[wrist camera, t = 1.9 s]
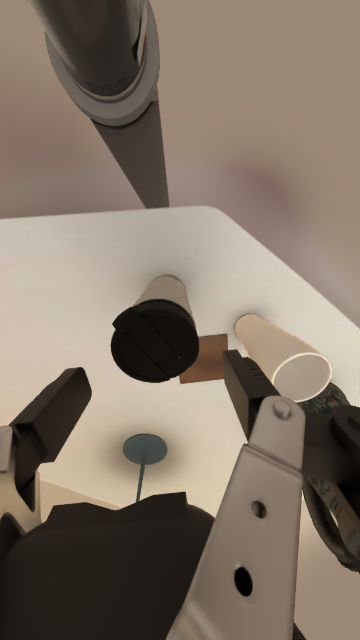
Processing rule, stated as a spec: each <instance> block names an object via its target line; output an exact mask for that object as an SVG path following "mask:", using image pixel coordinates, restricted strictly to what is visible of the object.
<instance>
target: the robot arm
mask: <svg viewBox="0 0 360 640" xmlns="http://www.w3.org/2000/svg"><path fill="white" fill-rule="evenodd" d="M28 2H29V4H30V6H31V7H32V9H33V11H34V13H35V14H36V16H37V18H38V20H39V21H40V23H41V25H42V26H43V28H44V30H45V32H46V34H47V35H48V37H49V39H50V41H51V42H52V44H53V46H54V47H55V49H56V51H57V53H58V54H59V56H60V59H61V61H62V63H63V65H64V67H65V68H66V70H67V72H68V73H69V75H70V77H71V78H72V80H73V81H74V83H75V84H76V85H77V86H78V87H79V89H80V90H81V91H83V92H84V93H85V94H86V95H87V96H89V97H90V98H92V99H94V100H96V101H99V102H102V103H116V102H120V101H122V100H124V99H126V98H127V97H128V96H130V95H131V94H132V93H133V92H134V90H135V89H136V88H137V86H138V84H139V83H140V80H141V78H142V76H143V73H144V69H145V64H146V57H147V40H146V25H147V19H148V18H147V9H146V0H145V7H144V13H143V15H142V10H141V2H140V0H28ZM223 375H224V381H225V385H226V387H227V390H228V393H229V395H230V398H231V400H232V403H233V405H234V408H235V410H236V413H237V415H238V418H239V421H240V423H241V426H242V428H243V431H244V433H245V436H246V438H247V441H248V443H247V444H243V446H242V448H241V450H240V453H239V455H238V458H237V461H236V464H235V466H234V469H233V472H232V475H231V477H230V480H229V483H228V485H227V488H226V491H225V494H224V496H223V499H222V502H221V504H220V507H219V510H218V513H217V515H216V518H214V517H213V516H212V515H210V514H209V513H207V512H206V511H204V510H203V509H200V508H198V507H196V506H193V505H190V504H188V503H187V497H186V492H178V493H168V494H159V495H152V496H150V497H147V498H145V499H143V500H141V501H138V502H136V503H134V504H131V505H129V506H127V507H124V508H122V509H120V510H111V509H108V508H104V507H101V506H97V505H94V504H90V503H87V502H83V503H74V504H64V505H56V506H53V508H52V510H51V512H50V514H49V516H48V518H47V520H46V522H44V523H42V521H41V511H40V510H41V509H40V508H41V507H40V474H39V472H38V470H37V469H38V467H39V465H40V464H41V463H49V462H54V461H55V459H56V457H57V456H58V454H59V452H60V451H61V449H62V447H63V445H64V444H65V442H66V440H67V439H68V437H69V435H70V433H71V432H72V430H73V428H74V427H75V425H76V423H77V422H78V420H79V418H80V416H81V415H82V413H83V411H84V410H85V408H86V406H87V405H88V403H89V401H90V399H91V395H92V390H91V387H90V384H89V381H88V378H87V376H86V373H85V370H84V369H83V368H82V367H77V368H69V369H66V370H65V371H64V372H63V373H62V374H61V375H60V376H59V377H58V378H57V379H56V380H55V381H53V382H52V383H50V384H49V385H47V386H46V387H45V388H44V389H43V390H42V392H41V393H40V395H38V396H37V397H36V398H35V399H34V400H33V401H32V402H31V403H30V404H29V405H28V406H27V407H26V408H25V409H24V410H23V411H22V412H21V413H20V414H19V415H18V416H17V417H16V418H15V419H14V420H13V421H12V422H11V423H10V424H9V425H8V426H1V427H0V640H306V638H305V637H304V636H303V634H302V633H301V631H300V630H299V629H298V627H297V626H296V625H295V623H294V607H295V592H296V577H297V560H298V545H299V531H300V515H301V500H302V484H303V476H307V477H311V478H315V479H319V480H323V481H326V482H327V483H328V485H329V487H330V488H331V490H332V492H333V493H334V495H335V496H336V498H337V500H338V501H339V503H340V505H341V506H342V508H343V509H344V511H345V513H346V514H347V516H348V518H349V519H350V521H351V522H352V524H353V526H354V527H355V529H356V530H357V532H358V534H359V535H360V408H359V407H356V406H352V405H338V406H335V407H334V408H333V409H332V413H331V415H328V414H322V413H315V412H309V411H305V410H303V409H302V408H301V407H300V406H299V405H298V404H297V403H296V402H294V401H292V400H291V399H288V398H286V397H282V396H281V395H280V393H279V392H278V391H277V389H276V388H275V387H274V385H273V384H272V383H271V381H270V380H269V379H268V377H267V376H266V375H265V374H264V372H263V371H262V370H261V368H260V367H259V366H258V364H257V363H256V362H255V361H253V360H252V359H250V358H248V357H244V358H242V356H241V355H240V353H239V352H238V350H237V349H235V350H226V351H223Z"/></svg>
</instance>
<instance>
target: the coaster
mask: <svg viewBox="0 0 360 640" xmlns="http://www.w3.org/2000/svg"><path fill="white" fill-rule="evenodd" d="M198 339H199V354H198V357H197V359H196V361H195V362H194V363H193V364H192V366H191V367H190V368H189V367H188V369H187V370H186V371H185V372H183V373H182V374H181V375H179V376H180V383H181V384H184V383H193V382H202V381H210V380H219V379H224V375H223V351H226V350H228V339H227V334H222V335H214V336H205V337H198Z"/></svg>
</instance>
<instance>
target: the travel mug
mask: <svg viewBox="0 0 360 640" xmlns="http://www.w3.org/2000/svg"><path fill="white" fill-rule="evenodd" d="M112 325H113V326H114V328H115V329H116V330H115V332H114V334H113V336H112V340H111V353H112V356H113V359H114V361H115V362H116V364H117V366H118V367H119V368H120V369H121V370H122V371H123V372H124V373H126V374H127V375H128V376H130V377H132V378H134V379H136V380H140V381H143V382H149V383H160V382H164V381H168V380H170V378H175V377H177V376H179V375H181V374H182V373H183V372H185V371H186V370H187V369H188V367H189V368H190V367H191V366H192V364H193V363H194V362H195V361H196V359H197V357H198V354H199V339H198V335H197V331H196V325H195V322H194V319H193V315H192V312H191V308H190V305H189V301H188V298H187V295H186V291H185V288H184V285H183V284H182V282H181V281H180V280H179V279H178V278H176V277H174V276H171V275H163V276H160V277H158V278H156V279H155V280H154V281H153V282H152V283H151V284H150V286H149V287H148V288H147V289H146V291H145V292H144V293H143V294H142V296H141V297H140V298H139V299H138V300H137V302H136V303H135V304H134V305H133V307H129V308H128V309H126V310H125V311H123V312H122V313H121V314H120V315H118V316H117V318H116V319H115V320H114V322H113V323H112Z"/></svg>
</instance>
